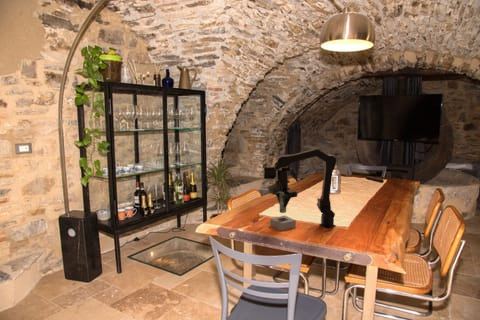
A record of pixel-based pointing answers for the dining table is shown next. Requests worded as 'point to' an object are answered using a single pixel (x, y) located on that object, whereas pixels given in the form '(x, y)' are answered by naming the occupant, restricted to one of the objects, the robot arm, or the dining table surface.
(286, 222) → the socket block
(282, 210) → the peg
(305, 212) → the dining table surface
